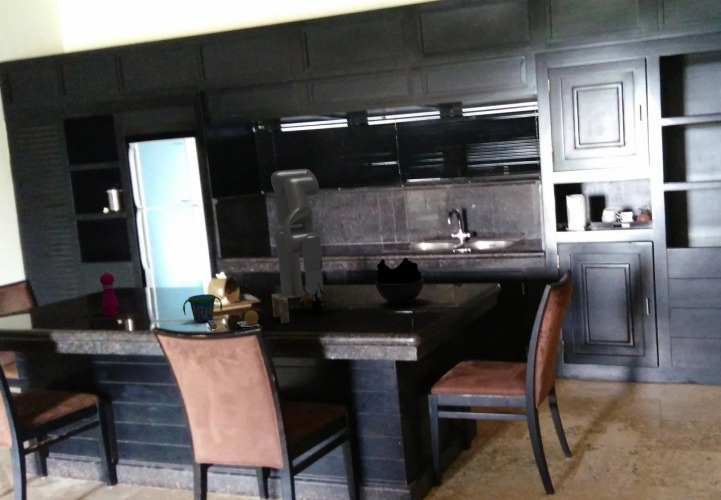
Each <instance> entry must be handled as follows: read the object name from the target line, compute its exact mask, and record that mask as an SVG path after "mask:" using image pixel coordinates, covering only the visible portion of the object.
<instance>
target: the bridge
mask: <svg viewBox="0 0 721 500" xmlns="http://www.w3.org/2000/svg"><path fill="white" fill-rule="evenodd" d="M271 301H272V305H271V306H272V314H273V315H272V316H273V318H279V317H280V323H281V324H288V323H290V313H289V312H290V311H289V300H288V299H287V298H285V297H284V296H282V295H281V294H280V293H279V292H278V293H272V294H271Z"/></svg>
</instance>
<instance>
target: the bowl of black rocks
mask: <svg viewBox="0 0 721 500" xmlns="http://www.w3.org/2000/svg"><path fill="white" fill-rule="evenodd" d="M418 267H419V264H417V263H416V262H414V261H412V260H409V259H408V257H404V258H403V259H402V261H401V262H400V263H399V264H398V265H397V266H396V267H394V268H390V266H389V265H387V264H386V261H385V259H384V258H382V259H381V260H380V261H379V263H377V265H376V268H377V272H376V273H377V274H376V280H375V282H374V283H375V286H376V289H377V291H378V294H379V296H381V297H382V298H383V299H384V300H385V301H387V302H389V303H392V304H395V305H406V304H409V303H410V302H412V301H414V300H415V299H416V298H418V297H419V295H420V294H421V292H422V289H423V287H424V284H425V280H424V279H425V277H423V276H422V273H421V271H419V268H418Z"/></svg>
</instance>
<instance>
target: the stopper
mask: <svg viewBox="0 0 721 500" xmlns="http://www.w3.org/2000/svg"><path fill="white" fill-rule="evenodd" d="M207 324H208V325H209V326H210V328H211V329H216V328H217V329H218V325H217V323H216V321H215V320H214V319H213V320H208V321H207ZM209 326H208V327H209ZM210 328H209V329H210ZM211 329H210V330H211Z"/></svg>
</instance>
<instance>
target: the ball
mask: <svg viewBox="0 0 721 500" xmlns="http://www.w3.org/2000/svg"><path fill="white" fill-rule="evenodd" d="M259 318H260V317H259V314H258V313H257V312H256V311H255V310H249V311H246V313H245V314H244V318H243V319H244V321H245V322H246V323H247V324H249V325H253V324H256V323H258V322H259Z"/></svg>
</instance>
